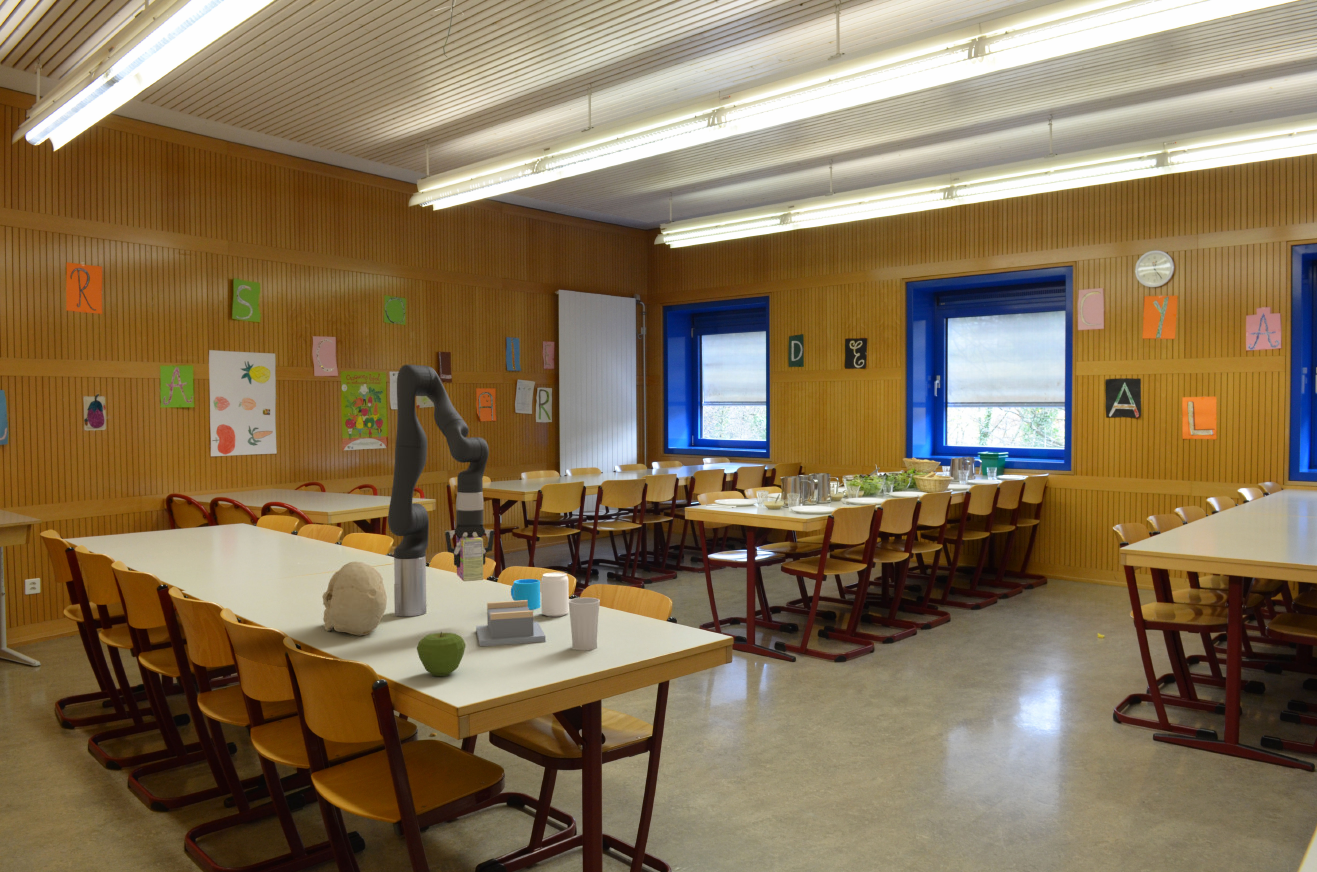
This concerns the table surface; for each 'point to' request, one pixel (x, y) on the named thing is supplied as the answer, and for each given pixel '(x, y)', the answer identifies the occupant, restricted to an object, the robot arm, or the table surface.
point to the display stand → (509, 625)
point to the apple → (441, 652)
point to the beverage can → (554, 594)
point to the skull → (354, 599)
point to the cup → (584, 622)
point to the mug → (527, 592)
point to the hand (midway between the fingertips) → (469, 566)
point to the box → (470, 558)
